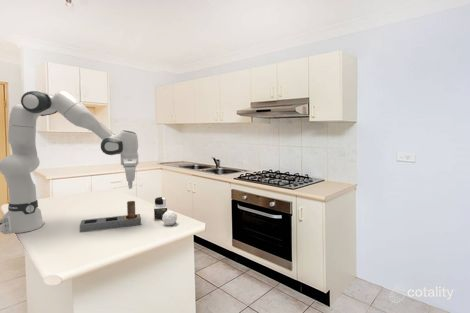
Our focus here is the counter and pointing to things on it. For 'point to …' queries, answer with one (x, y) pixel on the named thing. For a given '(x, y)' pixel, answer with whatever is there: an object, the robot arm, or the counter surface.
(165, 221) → the ball
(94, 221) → the rectangular metal frame
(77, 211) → the counter surface
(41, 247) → the counter surface
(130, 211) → the walnut peg
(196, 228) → the counter surface
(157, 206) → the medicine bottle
